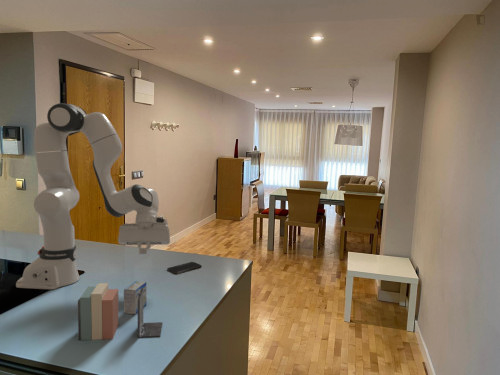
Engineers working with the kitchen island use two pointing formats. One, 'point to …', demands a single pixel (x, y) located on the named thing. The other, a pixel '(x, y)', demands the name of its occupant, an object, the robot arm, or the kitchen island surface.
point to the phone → (184, 268)
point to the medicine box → (134, 297)
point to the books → (99, 312)
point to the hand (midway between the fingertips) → (143, 253)
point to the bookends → (143, 328)
